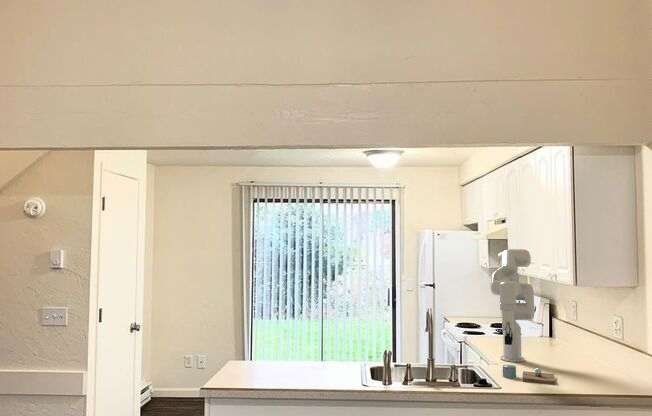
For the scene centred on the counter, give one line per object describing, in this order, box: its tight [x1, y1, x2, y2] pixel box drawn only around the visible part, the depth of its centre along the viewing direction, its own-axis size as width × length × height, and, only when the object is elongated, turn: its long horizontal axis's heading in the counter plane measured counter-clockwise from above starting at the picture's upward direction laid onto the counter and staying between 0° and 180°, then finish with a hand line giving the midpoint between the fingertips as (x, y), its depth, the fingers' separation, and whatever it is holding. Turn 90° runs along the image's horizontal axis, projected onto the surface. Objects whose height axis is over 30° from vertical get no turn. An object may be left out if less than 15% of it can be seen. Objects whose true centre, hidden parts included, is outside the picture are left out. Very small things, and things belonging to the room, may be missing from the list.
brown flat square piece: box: [521, 371, 556, 386], centre depth 242 cm, size 14×14×2 cm
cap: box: [502, 364, 517, 379], centre depth 247 cm, size 6×6×5 cm
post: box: [534, 367, 543, 377], centre depth 242 cm, size 3×3×4 cm
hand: (508, 342), depth 248 cm, fingers open, 9 cm apart
